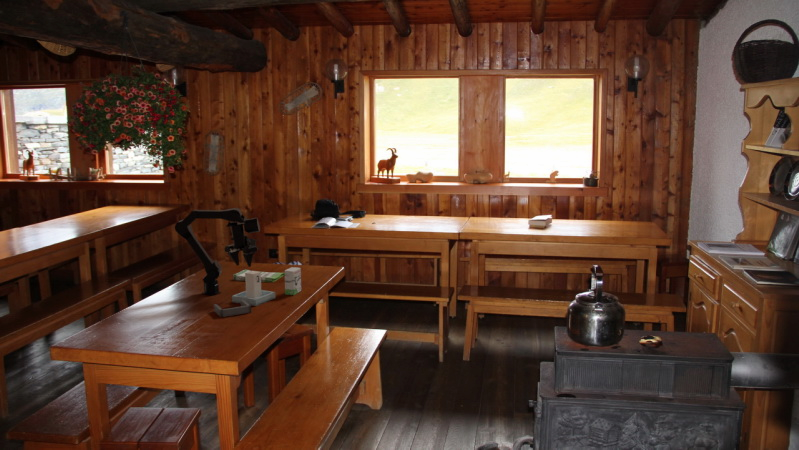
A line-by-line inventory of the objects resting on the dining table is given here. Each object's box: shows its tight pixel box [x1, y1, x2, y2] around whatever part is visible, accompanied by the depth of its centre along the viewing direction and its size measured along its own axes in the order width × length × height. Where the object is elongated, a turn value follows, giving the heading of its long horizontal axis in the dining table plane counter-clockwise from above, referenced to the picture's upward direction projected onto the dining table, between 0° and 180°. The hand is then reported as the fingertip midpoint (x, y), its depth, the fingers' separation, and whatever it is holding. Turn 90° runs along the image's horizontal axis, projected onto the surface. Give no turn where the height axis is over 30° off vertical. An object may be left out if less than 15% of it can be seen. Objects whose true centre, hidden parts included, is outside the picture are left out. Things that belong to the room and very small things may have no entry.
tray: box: [231, 289, 276, 307], centre depth 309 cm, size 14×14×3 cm
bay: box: [213, 300, 252, 318], centre depth 291 cm, size 11×13×3 cm
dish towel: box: [232, 269, 285, 283], centre depth 351 cm, size 17×23×4 cm
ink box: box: [284, 266, 302, 296], centre depth 320 cm, size 9×5×12 cm, turn 163°
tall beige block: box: [244, 270, 262, 299], centre depth 308 cm, size 6×5×12 cm
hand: (243, 266), depth 320 cm, fingers open, 9 cm apart
